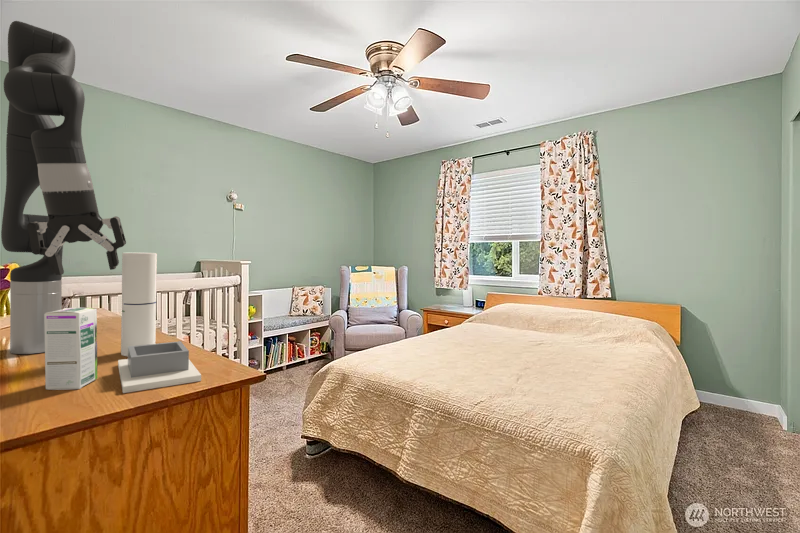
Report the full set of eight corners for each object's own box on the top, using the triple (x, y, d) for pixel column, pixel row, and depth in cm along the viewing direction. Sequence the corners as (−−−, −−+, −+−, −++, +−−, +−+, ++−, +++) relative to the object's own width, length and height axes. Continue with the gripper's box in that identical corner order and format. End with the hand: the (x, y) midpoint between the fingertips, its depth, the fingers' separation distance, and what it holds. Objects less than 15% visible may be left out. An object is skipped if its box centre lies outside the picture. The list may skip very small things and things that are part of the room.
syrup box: (80, 389, 72) (80, 311, 71) (43, 390, 71) (43, 311, 70) (98, 379, 77) (98, 307, 77) (64, 380, 76) (64, 306, 76)
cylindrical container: (138, 357, 93) (139, 253, 92) (113, 354, 94) (114, 252, 93) (162, 350, 100) (163, 253, 99) (138, 347, 101) (140, 252, 100)
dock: (118, 365, 87) (118, 342, 86) (183, 357, 95) (184, 336, 94) (122, 393, 71) (123, 365, 71) (201, 380, 79) (201, 355, 79)
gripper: (117, 186, 79) (132, 263, 83) (27, 189, 73) (48, 271, 77) (109, 187, 73) (126, 271, 77) (9, 191, 67) (33, 281, 71)
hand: (87, 271), depth 77 cm, fingers open, 8 cm apart
